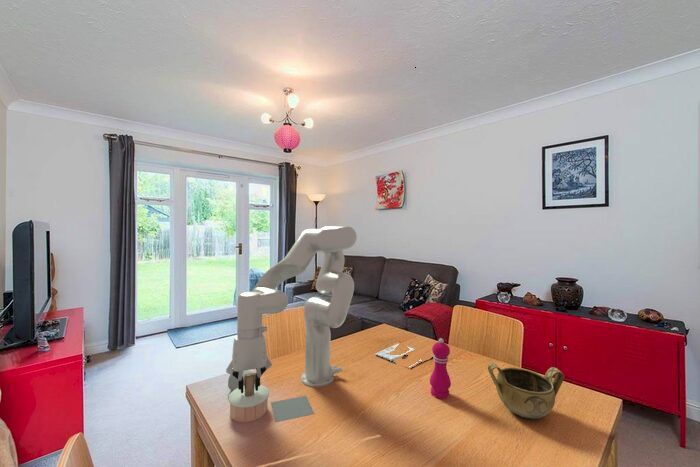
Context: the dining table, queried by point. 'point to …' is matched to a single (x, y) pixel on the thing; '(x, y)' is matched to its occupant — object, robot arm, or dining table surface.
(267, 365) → the robot arm
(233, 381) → the ceramic mug
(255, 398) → the lid
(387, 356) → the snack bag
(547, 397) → the ceramic bowl
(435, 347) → the pepper mill
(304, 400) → the placemat
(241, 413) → the round wooden tub
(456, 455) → the dining table surface
